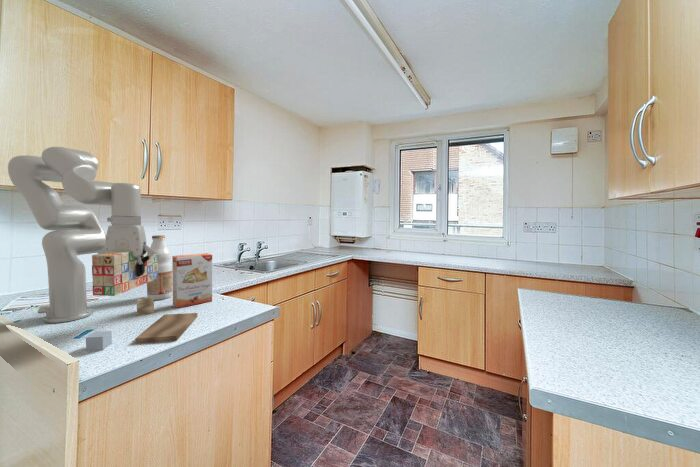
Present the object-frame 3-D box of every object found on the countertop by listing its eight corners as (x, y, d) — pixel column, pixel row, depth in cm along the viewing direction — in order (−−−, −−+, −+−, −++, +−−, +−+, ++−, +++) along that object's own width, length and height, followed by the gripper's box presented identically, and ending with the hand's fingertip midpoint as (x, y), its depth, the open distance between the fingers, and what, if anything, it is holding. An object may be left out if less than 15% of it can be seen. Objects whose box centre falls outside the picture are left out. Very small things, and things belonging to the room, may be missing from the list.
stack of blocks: (140, 278, 104) (140, 245, 103) (158, 279, 105) (158, 246, 104) (92, 295, 83) (91, 254, 82) (114, 296, 83) (113, 255, 83)
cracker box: (177, 308, 113) (176, 257, 111) (172, 305, 117) (171, 255, 115) (213, 301, 123) (212, 254, 122) (207, 298, 127) (207, 252, 126)
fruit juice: (146, 301, 121) (144, 236, 119) (148, 296, 129) (146, 235, 127) (172, 298, 126) (170, 236, 124) (172, 293, 134) (171, 234, 132)
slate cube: (86, 351, 78) (85, 337, 78) (95, 345, 82) (95, 331, 81) (103, 350, 79) (102, 336, 78) (111, 343, 83) (111, 330, 82)
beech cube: (137, 315, 105) (136, 302, 104) (138, 311, 109) (137, 299, 109) (153, 313, 107) (153, 300, 107) (153, 309, 112) (153, 297, 111)
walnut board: (135, 343, 83) (135, 338, 83) (164, 318, 102) (164, 314, 102) (176, 340, 85) (176, 335, 85) (197, 316, 105) (197, 312, 105)
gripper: (87, 221, 86) (88, 278, 87) (151, 223, 90) (151, 278, 91) (103, 220, 93) (104, 273, 95) (161, 222, 97) (161, 273, 99)
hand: (127, 275), depth 93 cm, fingers closed on stack of blocks, 6 cm apart
